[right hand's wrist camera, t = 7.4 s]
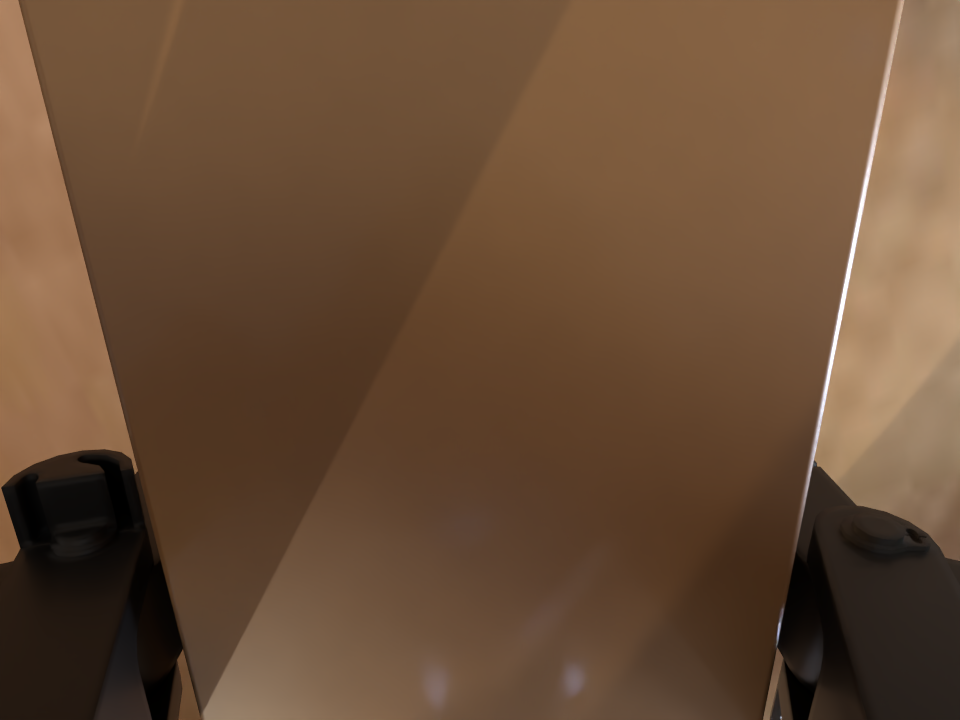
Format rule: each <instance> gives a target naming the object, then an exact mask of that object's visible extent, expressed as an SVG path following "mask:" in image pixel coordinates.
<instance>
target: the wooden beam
mask: <svg viewBox="0 0 960 720" xmlns="http://www.w3.org/2000/svg"><path fill="white" fill-rule="evenodd" d="M19 4H20V8H21V12H22V16H23V20H24V24H25V28H26V32H27V36H28V40H29V44H30V48H31V51H32V55H33V59H34V63H35V67H36V71H37V75H38V79H39V83H40V87H41V91H42V95H43V99H44V103H45V107H46V111H47V114H48V118H49V122H50V126H51V130H52V134H53V138H54V142H55V146H56V150H57V154H58V158H59V162H60V166H61V170H62V174H63V177H64V181H65V185H66V189H67V193H68V197H69V201H70V205H71V209H72V213H73V217H74V221H75V225H76V229H77V233H78V237H79V240H80V244H81V248H82V252H83V256H84V260H85V264H86V268H87V272H88V276H89V280H90V284H91V288H92V292H93V296H94V299H95V303H96V307H97V311H98V315H99V319H100V323H101V327H102V331H103V335H104V339H105V343H106V347H107V351H108V355H109V359H110V362H111V366H112V370H113V374H114V378H115V382H116V386H117V390H118V394H119V398H120V402H121V406H122V410H123V414H124V418H125V422H126V425H127V429H128V433H129V437H130V441H131V445H132V449H133V453H134V457H135V461H136V465H137V469H138V473H139V477H140V481H141V485H142V488H143V492H144V496H145V500H146V504H147V508H148V512H149V516H150V520H151V524H152V528H153V532H154V536H155V540H156V544H157V548H158V551H159V555H160V559H161V563H162V567H163V571H164V575H165V579H166V583H167V587H168V591H169V595H170V599H171V603H172V607H173V611H174V614H175V618H176V622H177V626H178V630H179V634H180V638H181V642H182V646H183V650H184V654H185V658H186V662H187V666H188V670H189V674H190V677H191V681H192V685H193V689H194V693H195V697H196V701H197V705H198V709H199V713H200V717H201V720H763V716H764V711H765V706H766V701H767V695H768V690H769V685H770V680H771V675H772V670H773V665H774V660H775V655H776V650H777V645H778V640H779V634H780V629H781V624H782V619H783V614H784V609H785V604H786V599H787V594H788V589H789V584H790V579H791V573H792V568H793V563H794V558H795V553H796V548H797V543H798V538H799V533H800V528H801V523H802V518H803V512H804V507H805V502H806V497H807V492H808V487H809V482H810V477H811V472H812V467H813V462H814V457H815V451H816V446H817V441H818V436H819V431H820V426H821V421H822V416H823V411H824V406H825V401H826V396H827V391H828V385H829V380H830V375H831V370H832V365H833V360H834V355H835V350H836V345H837V340H838V335H839V330H840V324H841V319H842V314H843V309H844V304H845V299H846V294H847V289H848V284H849V279H850V274H851V269H852V263H853V258H854V253H855V248H856V243H857V238H858V233H859V228H860V223H861V218H862V213H863V208H864V202H865V197H866V192H867V187H868V182H869V177H870V172H871V167H872V162H873V157H874V152H875V147H876V141H877V136H878V131H879V126H880V121H881V116H882V111H883V106H884V101H885V96H886V91H887V86H888V80H889V75H890V70H891V65H892V60H893V55H894V50H895V45H896V40H897V35H898V30H899V25H900V19H901V14H902V9H903V4H904V0H19Z"/></svg>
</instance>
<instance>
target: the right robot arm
mask: <svg viewBox="0 0 960 720" xmlns="http://www.w3.org/2000/svg"><path fill="white" fill-rule="evenodd" d="M1 489H2V492H3V495H4V498H5V501H6V504H7V507H8V510H9V514H10V517H11V520H12V523H13V526H14V529H15V532H16V536H17V539H18V542H19V545H20V548H21V549H20V551H19V553H18V554H17V556H16V558H15V560H14V561H12V562H8V563H3V564H0V720H178V717H179V710H180V702H181V695H182V683H181V676H180V671H179V667H178V662H177V659H178V657H179V655H180V653H181V651H182V650H183V646H182V642H181V638H180V634H179V630H178V626H177V622H176V618H175V614H174V611H173V607H172V603H171V599H170V595H169V591H168V587H167V583H166V579H165V575H164V571H163V567H162V563H161V559H160V555H159V551H158V548H157V544H156V540H155V536H154V532H153V528H152V524H151V520H150V516H149V512H148V508H147V504H146V500H145V496H144V492H143V488H142V485H141V481H140V477H139V473H138V472H137V473H136V474H134V469H133V465H132V460H131V459H130V458H129V457H127V456H126V455H124V454H123V453H122V452H116V451H110V450H105V449H104V450H84V451H78V452H73V453H68V454H64V455H59V456H56V457H53V458H50V459H47V460H45V461H42V462H39V463H36V464H34V465H32V466H30V467H28V468H26V469H25V470H23V471H21V472H19V473H17V474H16V475H14V476H13V477H12V478H11V479H10V480H9V481H8V482H7V483H6V484H5V485H4V486H2V487H1ZM777 647H778V649H779V651H780V652H781V654H782V656H783V662H782V667H781V671H780V676H779V680H778V684H777V689H776V693H775V698H774V702H773V706H772V711H771V715H770V720H781V719H782V720H960V561H957V560H952V559H948V558H945V557H944V555H943V553H942V551H941V549H940V548H939V547H938V545H937V544H936V543H935V542H934V541H933V540H932V538H931V537H930V536H929V535H928V534H927V533H925V532H924V531H922V530H921V529H919V528H918V527H916V526H915V525H913V524H912V523H910V522H909V521H906V520H904V519H901V518H899V517H897V516H894V515H892V514H890V513H887V512H884V511H880V510H876V509H871V508H867V507H863V506H856V505H855V503H854V502H853V501H852V500H851V499H850V498H849V497H848V496H847V495H846V494H845V493H844V492H843V491H842V490H841V489H840V487H839V486H838V485H837V484H836V483H835V482H834V481H833V480H832V479H831V478H830V477H829V476H828V475H827V474H826V472H825V471H824V470H823V469H822V468H821V467H817V463H816V462H815V461H814V462H813V467H812V472H811V477H810V482H809V487H808V492H807V497H806V502H805V507H804V512H803V518H802V523H801V528H800V533H799V538H798V543H797V548H796V553H795V558H794V563H793V568H792V573H791V579H790V584H789V589H788V594H787V599H786V604H785V609H784V614H783V619H782V624H781V629H780V634H779V640H778V645H777Z"/></svg>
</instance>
